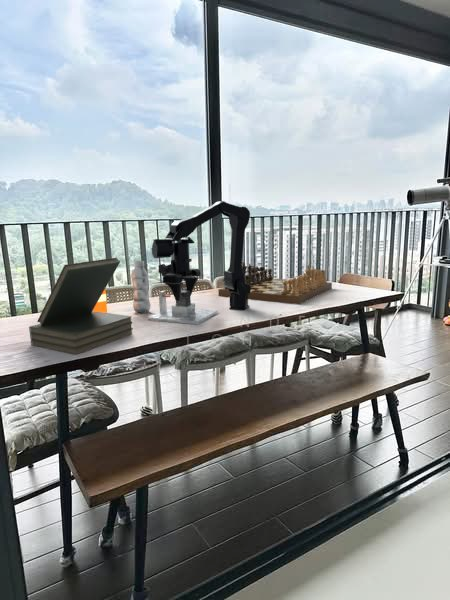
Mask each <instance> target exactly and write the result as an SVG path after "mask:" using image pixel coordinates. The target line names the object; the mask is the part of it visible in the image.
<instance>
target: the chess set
mask: <svg viewBox="0 0 450 600" xmlns="http://www.w3.org/2000/svg"><path fill="white" fill-rule="evenodd" d="M242 269H243V272H244V275H245V283H246V284H247V285H248V286H249V287H250V288H251V291H250V294H248V300H254V301H264V302H274V303H280V304H282V303H283V304H294V305H301V304H303V303H305V302H308V301H309V299H310V300H311V298H312V299H314V298H316V297H318V296H320V295H322V294H324V293H327V292H328V291H330V290H332V289H333V288H332V287H333V282H330V281H329V282H328V281H327V278H326V274H327V270H324V269H321V270H320V269H315V266H312V268H311V266H310V264H307V268H306V269H305V270H304V271H305V272H304V273H303V274H300V275H298V276H297V277H292V278H289V279H284V278H275V277H274V276H272V274H273V273H272V272H273V270H272V268H268V269H266V267H265V266H256V267H255V266H254V265H251V263H248V265H246V262H245V261H242ZM217 289H218V288H217ZM231 293H232V292H229V290H228V288H227V287H226V286H225V285H224V287H222V288H219V289H218V297H222V298H223V297H225V298H230V296H231ZM321 293H322V294H321ZM319 294H320V295H319ZM317 295H318V296H317ZM315 296H316V297H315ZM313 297H314V298H313ZM307 300H308V301H307Z"/></svg>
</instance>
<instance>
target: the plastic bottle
mask: <svg viewBox="0 0 450 600" xmlns="http://www.w3.org/2000/svg"><path fill="white" fill-rule="evenodd" d="M133 267H134V269H133V270H132V272H131V274H130V277H131V284H132V288H133V305H132V306H133V307H132V308H133V311H135V312H136V313H141V314H144V313H147V312H150V311H151V306H152V305H151V301H150V297H149V289H148V288H149V285H148V284H149V273H148V271H147V270H146V269H145V262H144V260H136V261H133Z"/></svg>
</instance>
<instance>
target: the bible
mask: <svg viewBox="0 0 450 600" xmlns="http://www.w3.org/2000/svg"><path fill="white" fill-rule="evenodd" d="M120 263H121V261H120V260H119V258H118V257H111V258H102V259H95V260H89V261H83V262H82V261H80V262H73V263H68V264H67V263H66V264H64V265H63V267H62V270H61V272H60V273H59V276H58V277H57V279H56V281H55V283H54V286H53V288H52V290H51V293H50V294H49V296H48V298H47V301H46V302H45V304H44V306H43V309H42V311H41V313H40V314H39V317H38V318H37V321H36V324H34V325H30V326H29V327H28V330H29V339H30V345H31V346H34V347H39V348H43V349H48V350H53V351H56V352H57V351H58V352H63V353H67V354H71V355H78V354H82V353H85V352H87V351H90V350H93V349H95V348H98V347H101V346H105V345H107V344H109V343H112V342H115V341H117V340H120V339H122V338H125V337H128V336H131V335H133V327H132V324H133V321H132V316H131V315H127V314H126V315H125V314H117V313H110V312H107V313H103V312H96V311H93V309H94V307H95V306H96V304H97V302H98V300H99V298H100V297H101V295H102V293H103V291H104V290H105V291H106V288H107V286H108V284H109V283H110V281H111V279H112V277H113V275H114V274H115V272H116V270H117V268H118V266H119V265H120ZM37 323H38V324H37Z"/></svg>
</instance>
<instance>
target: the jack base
mask: <svg viewBox="0 0 450 600" xmlns="http://www.w3.org/2000/svg"><path fill="white" fill-rule="evenodd" d="M166 292H167V291H166V290H161V291H158V301H159V302H158V303H159V304H158V305H159V312H157V313H155V314H153V315H149V316H148V317H147V321H156V322H164V323H165V322H167V323H178V324H188V325H198V324H201V323H202V322H204V321H206V320H208V319H210V318H211V317H213V316H215V315H217V314H218V313H219V310H218V309H207V308H206V309H204V308H196V303H195V302H194V303H193V302H191V304H190V305H188V306H175V305H176V303H175V304H172V305H171V307H170V308H168V307H167V298H171V294H167V293H166Z"/></svg>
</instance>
